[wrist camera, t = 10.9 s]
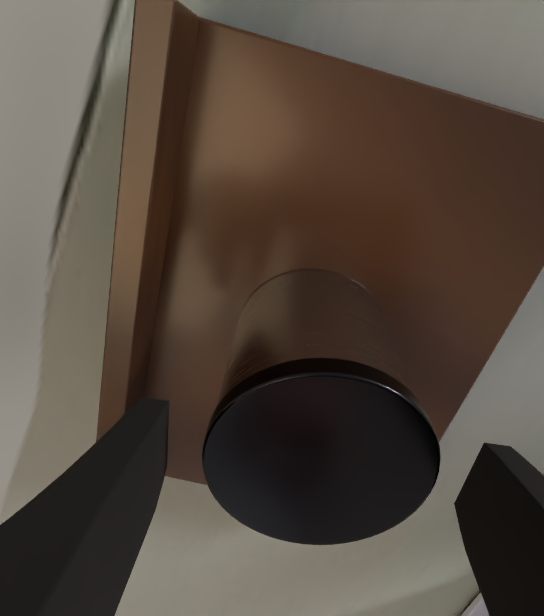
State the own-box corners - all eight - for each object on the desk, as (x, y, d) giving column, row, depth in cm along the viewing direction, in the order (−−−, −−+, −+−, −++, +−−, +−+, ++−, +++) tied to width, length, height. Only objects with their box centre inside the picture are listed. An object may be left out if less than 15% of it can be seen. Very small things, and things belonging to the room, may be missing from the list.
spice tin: (391, 392, 15) (439, 539, 10) (248, 406, 16) (228, 552, 11) (385, 254, 13) (444, 359, 8) (218, 277, 13) (174, 388, 8)
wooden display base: (378, 469, 21) (403, 582, 16) (137, 416, 20) (89, 518, 15) (556, 131, 14) (695, 153, 9) (193, 23, 13) (135, -15, 8)
